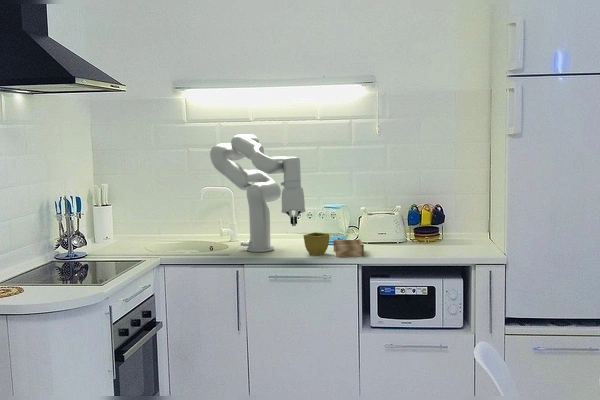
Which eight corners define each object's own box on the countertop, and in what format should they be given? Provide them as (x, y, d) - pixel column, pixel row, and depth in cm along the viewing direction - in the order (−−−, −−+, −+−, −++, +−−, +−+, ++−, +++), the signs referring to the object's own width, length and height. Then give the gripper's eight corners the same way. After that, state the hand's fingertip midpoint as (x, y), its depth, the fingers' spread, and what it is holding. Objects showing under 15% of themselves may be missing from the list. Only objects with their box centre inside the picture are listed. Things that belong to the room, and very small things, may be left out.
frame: (335, 256, 285) (335, 245, 285) (333, 250, 300) (333, 240, 299) (363, 256, 285) (363, 244, 285) (360, 250, 300) (360, 239, 299)
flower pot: (319, 256, 286) (318, 236, 285) (303, 254, 292) (302, 234, 291) (330, 253, 293) (330, 233, 292) (314, 251, 299) (314, 232, 298)
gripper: (275, 185, 285) (277, 227, 287) (309, 184, 285) (310, 226, 287) (275, 184, 293) (277, 225, 294) (309, 183, 293) (310, 224, 294)
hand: (293, 225), depth 291 cm, fingers closed
